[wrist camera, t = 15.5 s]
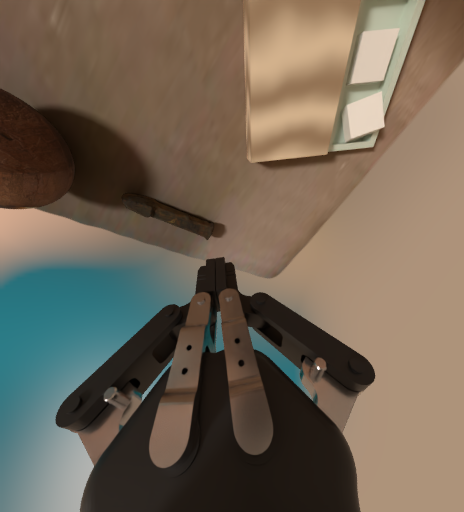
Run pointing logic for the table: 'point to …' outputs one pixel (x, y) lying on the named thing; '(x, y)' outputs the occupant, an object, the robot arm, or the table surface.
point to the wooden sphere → (31, 157)
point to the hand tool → (167, 214)
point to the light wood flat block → (294, 74)
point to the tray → (379, 18)
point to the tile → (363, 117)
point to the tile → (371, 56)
